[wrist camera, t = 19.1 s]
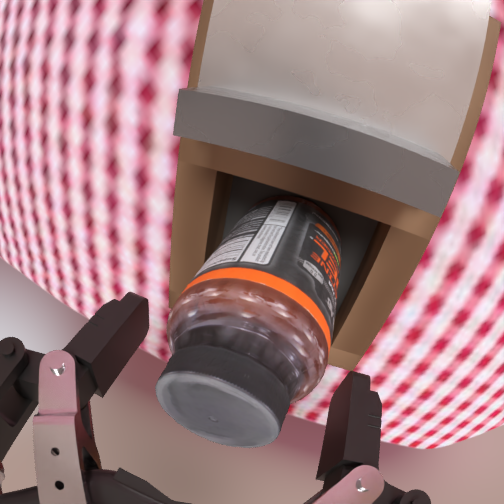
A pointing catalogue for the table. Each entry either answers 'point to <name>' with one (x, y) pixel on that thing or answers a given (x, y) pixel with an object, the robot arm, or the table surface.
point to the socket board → (324, 196)
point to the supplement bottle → (254, 325)
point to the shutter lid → (342, 88)
